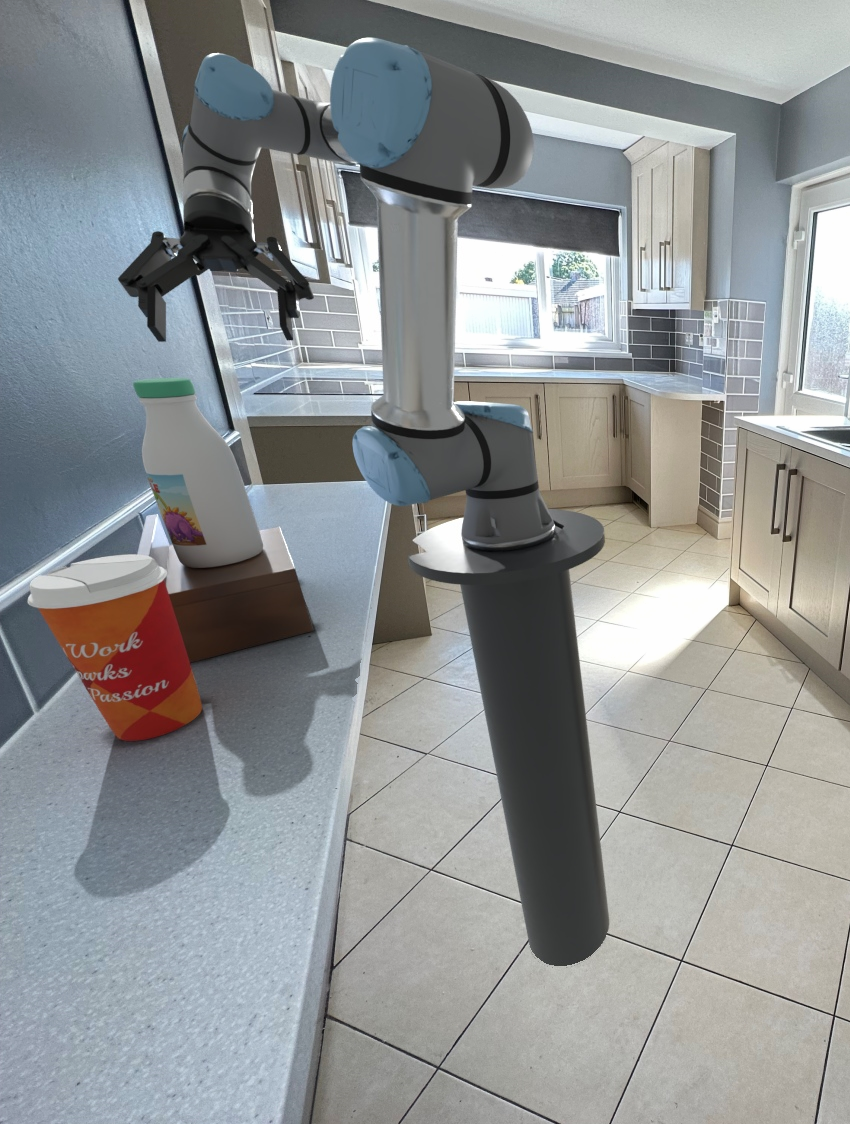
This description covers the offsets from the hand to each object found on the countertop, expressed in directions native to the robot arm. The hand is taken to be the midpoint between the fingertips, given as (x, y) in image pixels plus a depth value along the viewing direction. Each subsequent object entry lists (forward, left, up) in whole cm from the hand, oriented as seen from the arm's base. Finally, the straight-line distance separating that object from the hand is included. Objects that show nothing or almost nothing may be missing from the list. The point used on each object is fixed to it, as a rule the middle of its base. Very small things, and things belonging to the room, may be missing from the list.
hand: (224, 333), depth 80 cm
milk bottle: (+6, +20, -24) cm, 32 cm away
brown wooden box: (+6, +20, -32) cm, 38 cm away
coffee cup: (+13, +40, -32) cm, 53 cm away
